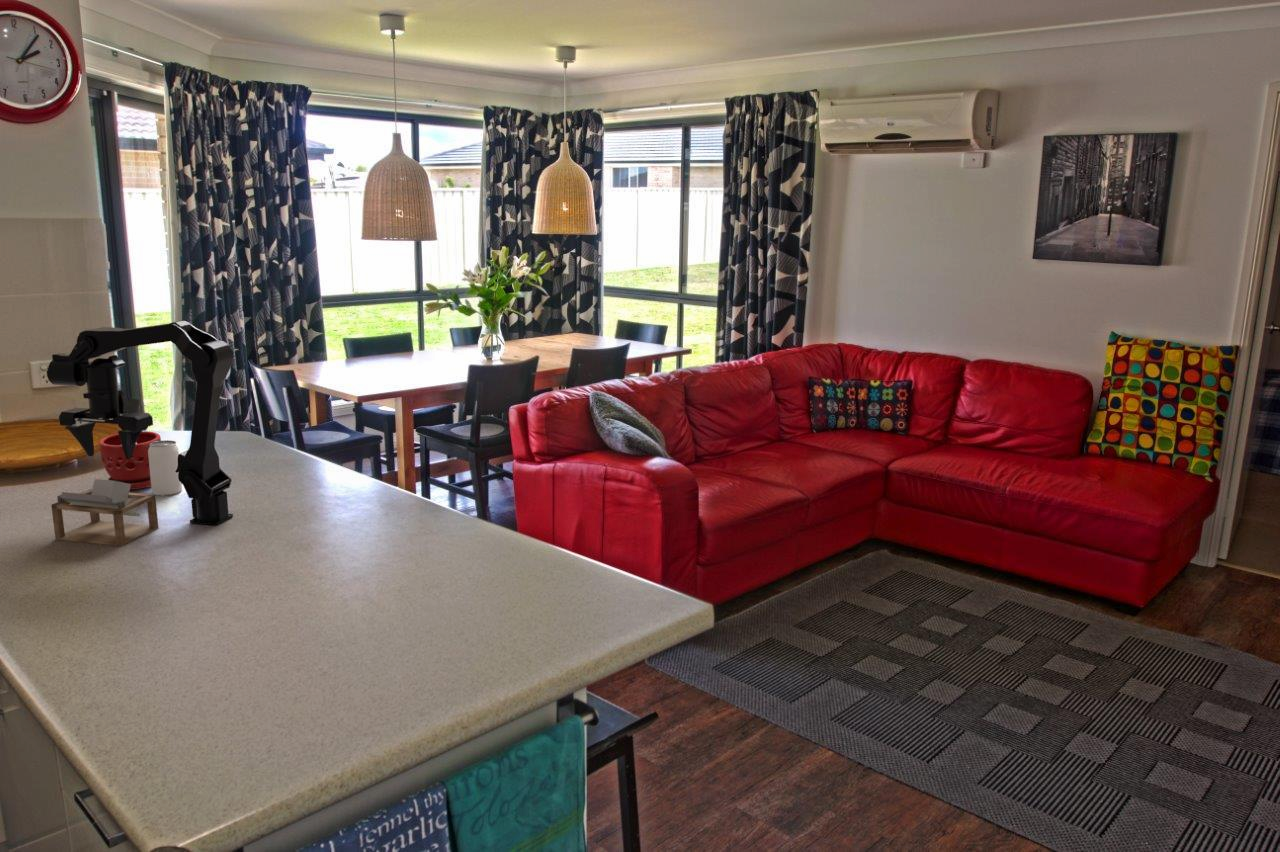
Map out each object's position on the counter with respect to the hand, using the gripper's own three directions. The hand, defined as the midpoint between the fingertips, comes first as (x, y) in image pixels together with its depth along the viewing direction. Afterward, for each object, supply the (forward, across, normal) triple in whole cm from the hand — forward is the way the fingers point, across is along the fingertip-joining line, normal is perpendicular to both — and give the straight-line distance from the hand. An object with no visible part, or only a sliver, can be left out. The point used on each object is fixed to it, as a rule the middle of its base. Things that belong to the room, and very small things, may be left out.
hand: (110, 457), depth 204 cm
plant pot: (+13, +11, -20) cm, 26 cm away
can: (+13, 0, -17) cm, 22 cm away
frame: (+13, -7, +11) cm, 18 cm away
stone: (+7, -7, +10) cm, 14 cm away
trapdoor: (+7, -7, +13) cm, 16 cm away
